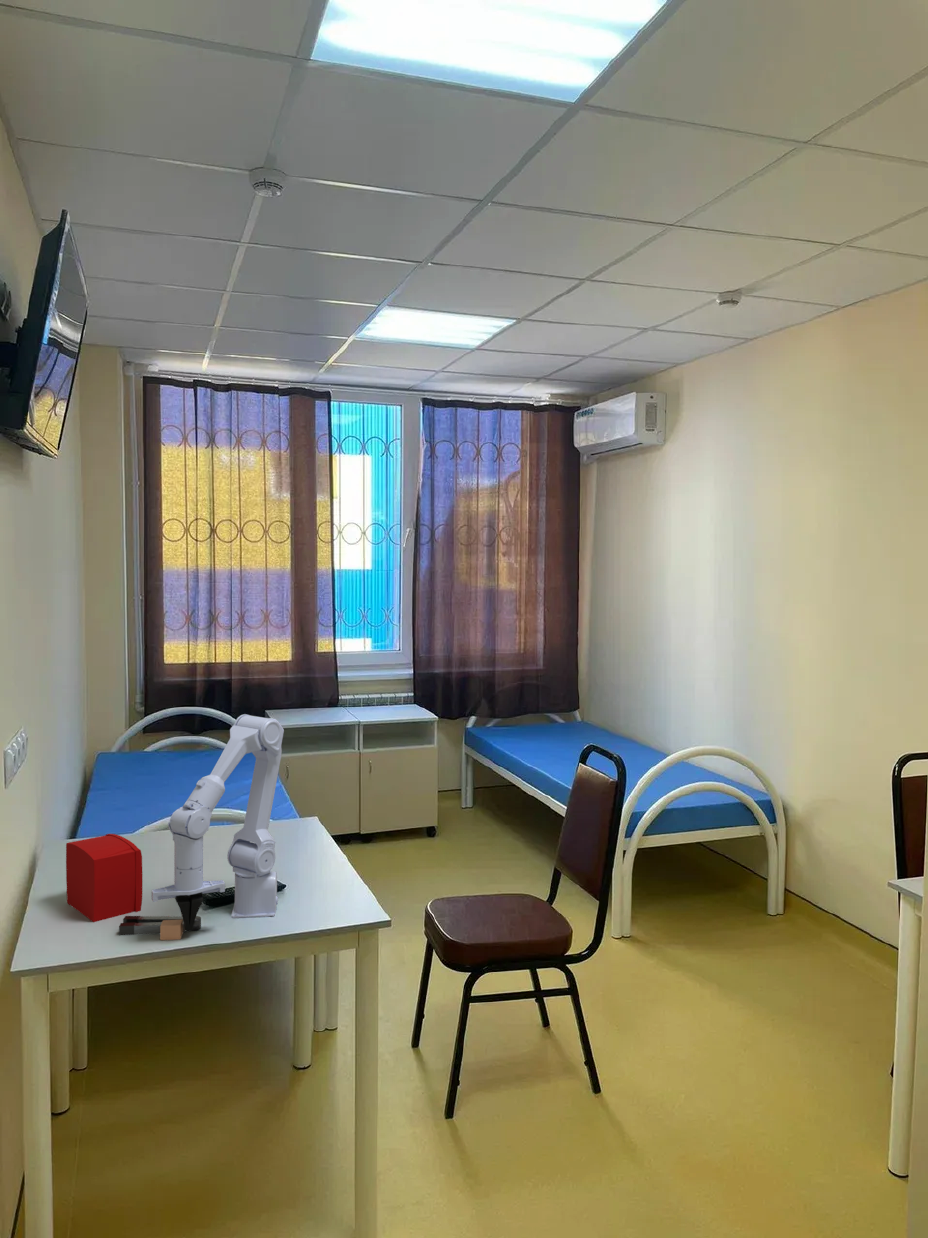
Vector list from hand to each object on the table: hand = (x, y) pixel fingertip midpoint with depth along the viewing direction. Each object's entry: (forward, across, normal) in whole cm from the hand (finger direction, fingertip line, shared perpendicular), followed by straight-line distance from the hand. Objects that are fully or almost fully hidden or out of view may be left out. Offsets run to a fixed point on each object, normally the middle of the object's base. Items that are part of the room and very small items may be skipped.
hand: (188, 929), depth 186 cm
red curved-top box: (+2, +14, -25) cm, 29 cm away
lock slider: (+1, +3, -1) cm, 4 cm away
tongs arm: (+1, +4, -7) cm, 8 cm away
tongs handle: (+2, +6, -5) cm, 8 cm away
